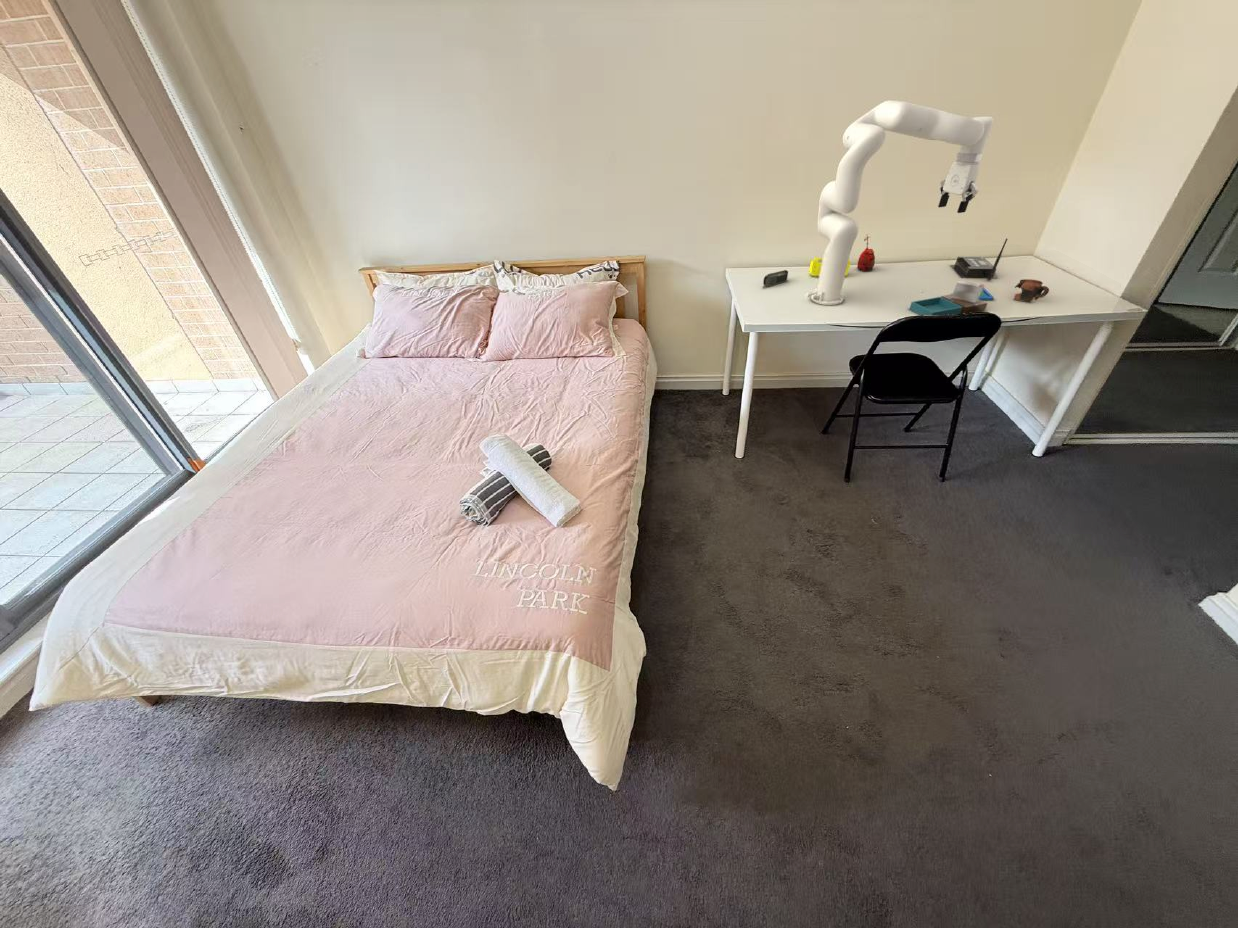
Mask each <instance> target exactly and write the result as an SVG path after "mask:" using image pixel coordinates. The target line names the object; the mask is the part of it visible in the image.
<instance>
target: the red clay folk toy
mask: <svg viewBox="0 0 1238 928" xmlns="http://www.w3.org/2000/svg"><path fill="white" fill-rule="evenodd" d="M869 238H871V236H869V235H868V234H866V237H864V239H863V241H864V242H866V248H865V249H864V250H863V251H862V252H861V254H860V255H859V257H858V260H857V267H856V268H857V269H858V271H861V272H863V273H865V272H870V271H872V270H873V269H874V267H875V264H876V263H875V262H876V255H875V250H873V248H869Z"/></svg>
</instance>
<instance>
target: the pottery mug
mask: <svg viewBox="0 0 1238 928" xmlns="http://www.w3.org/2000/svg"><path fill="white" fill-rule="evenodd" d="M1043 284H1044V283H1043V281H1041V280H1037V279H1030V278H1029V279H1028V278H1027V279H1026V278H1023V279H1020V280H1019V282H1018V283H1017V284H1016V285H1015V286H1014V289H1016V288H1018V289H1021V293H1015V295H1014V298H1013V300H1014V301H1023V302H1028V303H1031V302H1032V301H1033V300H1035V301H1037V300H1039V299H1042V298H1044V297H1046V296H1047V295H1048V294H1049V291H1050V288H1049V287H1048V286H1045V285H1043Z"/></svg>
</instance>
